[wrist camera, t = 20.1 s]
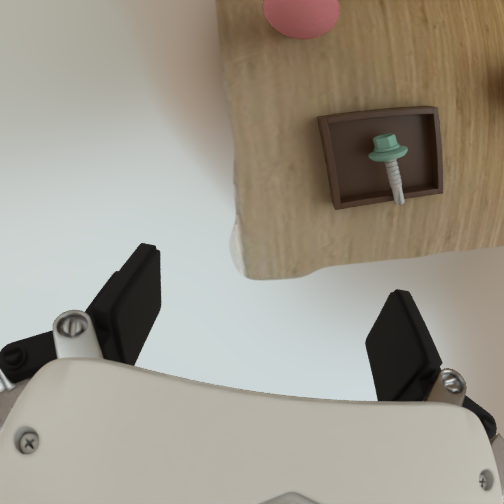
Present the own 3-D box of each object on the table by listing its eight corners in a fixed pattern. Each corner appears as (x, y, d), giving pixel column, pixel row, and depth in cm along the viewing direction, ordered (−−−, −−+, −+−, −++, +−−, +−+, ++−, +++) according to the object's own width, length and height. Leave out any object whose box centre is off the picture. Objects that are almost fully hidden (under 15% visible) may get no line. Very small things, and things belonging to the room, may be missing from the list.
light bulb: (337, 28, 27) (363, 1, 16) (297, 62, 30) (306, 46, 19) (294, -9, 25) (300, -48, 14) (254, 25, 28) (242, -5, 17)
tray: (428, 105, 30) (437, 107, 28) (434, 187, 35) (443, 193, 33) (316, 116, 33) (319, 118, 31) (332, 202, 38) (335, 210, 36)
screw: (359, 139, 33) (370, 143, 29) (394, 130, 32) (409, 133, 28) (377, 204, 37) (389, 217, 32) (409, 195, 35) (425, 206, 31)
